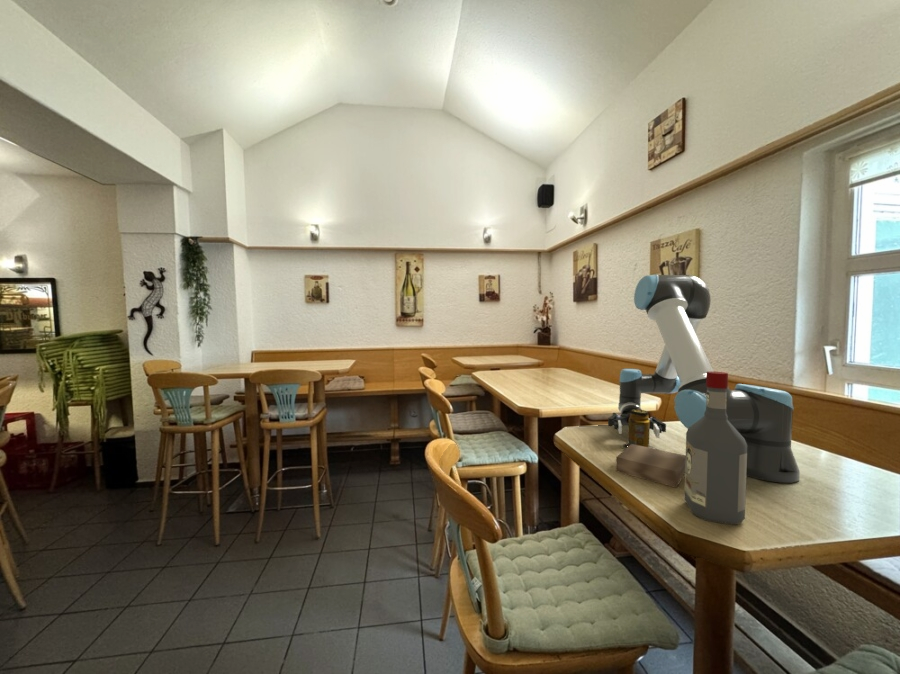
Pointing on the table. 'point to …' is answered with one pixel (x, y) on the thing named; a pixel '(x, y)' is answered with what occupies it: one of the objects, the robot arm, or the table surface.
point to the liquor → (716, 460)
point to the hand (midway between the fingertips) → (638, 431)
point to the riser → (652, 464)
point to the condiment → (638, 429)
